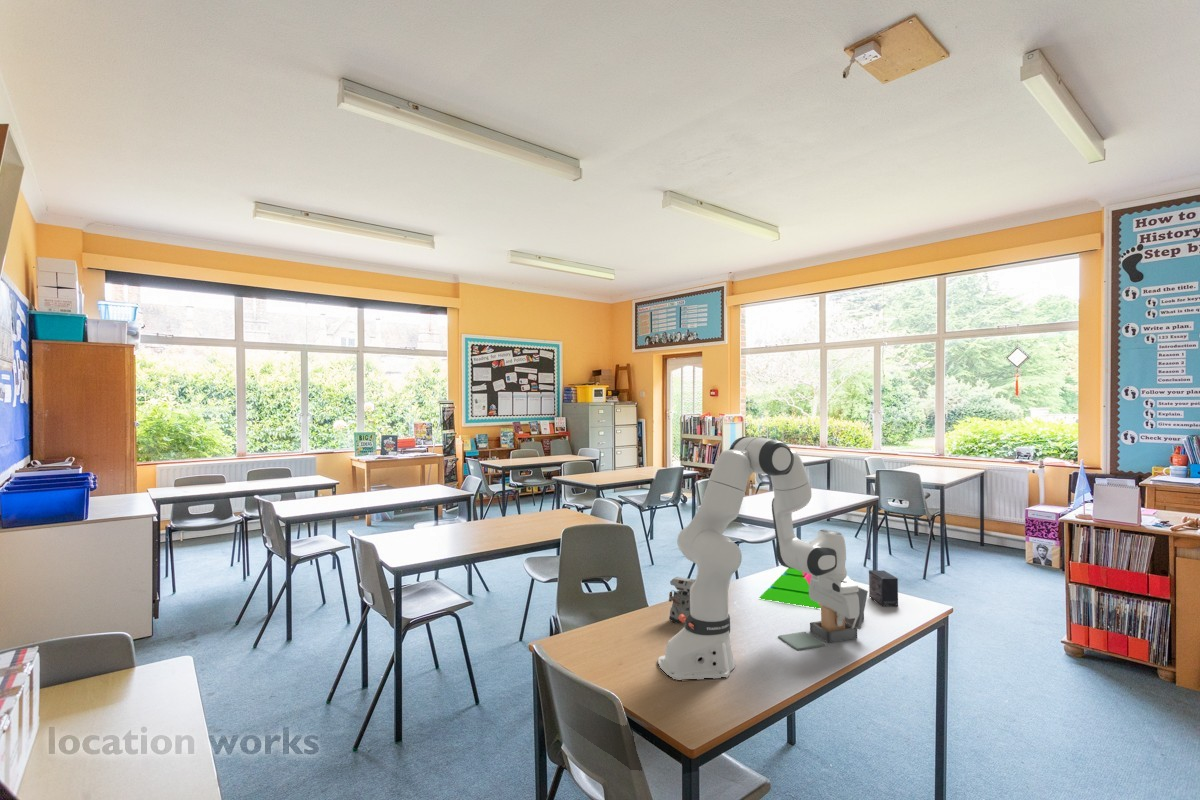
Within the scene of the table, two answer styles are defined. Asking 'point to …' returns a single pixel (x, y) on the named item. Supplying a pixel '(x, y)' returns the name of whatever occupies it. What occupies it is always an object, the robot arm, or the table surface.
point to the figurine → (680, 598)
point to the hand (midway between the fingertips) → (833, 622)
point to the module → (830, 619)
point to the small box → (883, 588)
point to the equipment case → (850, 624)
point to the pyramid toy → (791, 589)
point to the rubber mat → (801, 640)
